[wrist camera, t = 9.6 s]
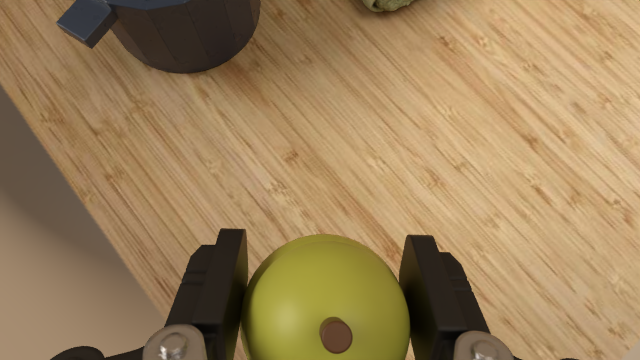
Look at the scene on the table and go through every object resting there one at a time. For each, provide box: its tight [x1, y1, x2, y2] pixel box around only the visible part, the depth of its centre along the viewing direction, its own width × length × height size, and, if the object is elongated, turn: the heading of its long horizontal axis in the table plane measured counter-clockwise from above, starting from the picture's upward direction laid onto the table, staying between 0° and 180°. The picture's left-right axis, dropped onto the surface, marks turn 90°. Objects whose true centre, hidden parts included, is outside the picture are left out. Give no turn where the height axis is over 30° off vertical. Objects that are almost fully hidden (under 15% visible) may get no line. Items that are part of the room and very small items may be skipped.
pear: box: [240, 234, 410, 360], centre depth 13 cm, size 5×5×10 cm
